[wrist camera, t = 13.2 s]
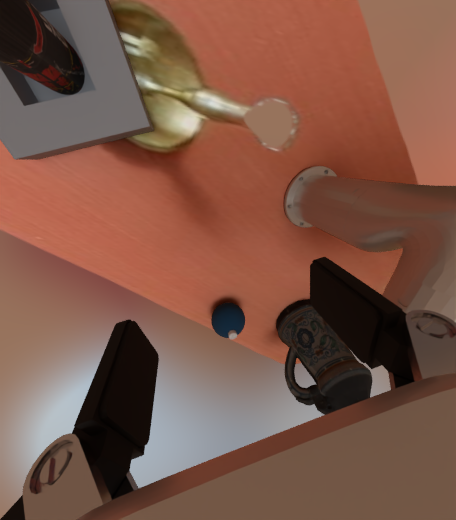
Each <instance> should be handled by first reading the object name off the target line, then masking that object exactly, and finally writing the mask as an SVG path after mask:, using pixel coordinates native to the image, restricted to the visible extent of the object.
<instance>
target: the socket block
mask: <svg viewBox="0 0 456 520" xmlns="http://www.w3.org/2000/svg"><path fill="white" fill-rule="evenodd" d="M28 1H29V2H30V3H31V4H32V5H33V6H34V7H35V8H36V9H37V10H38V11H39V12H40V13H41V14H42V15H43V16H44V17H45V18H46V19H47V21H48V22H49V23H50V24H51V25H52V26H53V27H54V28H55V29H56V30H57V31H58V32H59V33H60V34H61V35H62V36H63V37H64V38H65V39H66V40H67V42H68V43H69V44H70V45H71V46H72V47H73V48H74V50H75V51H76V52H77V54H78V56H79V57H80V59H81V62H82V64H83V67H84V73H85V80H84V84H83V87H82V89H81V90H80V91H79V92H78V93H76V94H73V95H64V94H59V93H57V92H55V91H53V90H51V89H49V88H48V87H46V86H44V85H42V84H40V83H39V82H37V81H35V80H33V79H31V78H29V77H28V76H26V75H24V74H22V73H20V72H19V71H17V70H15V69H13V68H11V67H9V66H8V65H6V64H4V63H2V62H0V140H1V141H2V142H3V144H4V145H5V147H6V148H7V149H8V151H9V152H10V154H11V155H12V156H13V158H14V159H42V158H46V157H50V156H54V155H58V154H62V153H66V152H70V151H74V150H78V149H82V148H86V147H90V146H94V145H98V144H102V143H106V142H110V141H114V140H118V139H122V138H126V137H130V136H134V135H138V134H142V133H146V132H150V131H154V129H153V126H152V123H151V120H150V117H149V114H148V112H147V109H146V106H145V103H144V100H143V97H142V95H141V92H140V89H139V86H138V83H137V80H136V78H135V75H134V72H133V69H132V66H131V63H130V61H129V58H128V55H127V52H126V49H125V46H124V44H123V41H122V38H121V35H120V32H119V29H118V27H117V24H116V21H115V18H114V15H113V13H112V10H111V7H110V4H109V1H108V0H28Z"/></svg>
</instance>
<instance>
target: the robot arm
mask: <svg viewBox="0 0 456 520" xmlns="http://www.w3.org/2000/svg"><path fill="white" fill-rule="evenodd" d="M299 178H300V179H299ZM284 210H285V214H286V216H287V218H288V219H289V220H290V221H291V222H292V223H293V224H295V225H297V226H299V227H305V228H307V227H312V226H315V227H317V228H319V229H321V230H323V231H325V232H327V233H329V234H331V235H333V236H335V237H337V238H339V239H341V240H343V241H345V242H347V243H349V244H351V245H353V246H355V247H357V248H359V249H361V250H364V251H368V252H386V251H392V250H396V249H400V248H403V252H402V255H401V257H400V260H399V262H398V265H397V267H396V269H395V271H394V273H393V275H392V277H391V278H390V280H389V282H388V284H387V286H386V288H385V291H384V293H383V295H381V294H379V293H378V292H376V291H375V290H373V289H372V288H370V287H369V286H368V285H366V284H365V283H363V282H362V281H360V280H359V279H357V278H356V277H354V276H353V275H351V274H350V273H348V272H347V271H345V270H344V269H343V268H341V267H340V266H338V265H337V264H335V263H334V262H332V261H331V260H329V259H328V258H326V257H322V258H319V259H316V260H314V261H313V263H312V264H311V265H310V303H311V305H312V307H313V308H314V309H315V310H316V311H317V313H318V314H319V315H320V316H321V317H322V318H323V319H324V320H325V322H326V323H327V324H328V325H329V326H330V327H331V328H332V329H333V331H334V332H335V333H336V334H337V335H338V336H339V337H340V339H341V340H342V341H343V342H344V343H345V344H346V345H347V346H348V348H349V349H350V350H351V351H352V352H353V353H354V354H355V355H356V357H357V358H358V359H359V360H360V361H361V362H363V363H366V364H367V365H368V366H369V367H370V368H371V369H373V368H375V367H378V366H381V365H383V366H384V367H385V368H386V369H387V371H388V373H389V379H390V385H391V390H390V391H387V392H385V393H382V394H379V395H376V396H374V397H371V398H368V399H366V400H363V401H360V402H358V403H355V404H353V405H350V406H347V407H345V408H342V409H340V410H337V411H334V412H332V413H329V414H327V415H324V416H321V417H319V418H316V419H313V420H311V421H308V422H306V423H303V424H301V425H298V426H296V427H293V428H290V429H288V430H285V431H283V432H280V433H278V434H275V435H272V436H270V437H267V438H265V439H262V440H260V441H257V442H255V443H252V444H249V445H247V446H244V447H242V448H239V449H237V450H234V451H231V452H229V453H226V454H224V455H221V456H219V457H216V458H214V459H211V460H209V461H206V462H204V463H201V464H199V465H196V466H194V467H191V468H189V469H186V470H183V471H181V472H178V473H176V474H174V475H171V476H168V477H166V478H163V479H161V480H159V481H156V482H154V483H151V484H149V485H147V486H144V487H142V488H138V486H137V484H136V483H135V481H134V479H133V477H132V475H131V473H130V471H129V469H130V463H131V460H132V459H134V458H137V457H139V456H142V455H144V448H145V445H146V444H147V443H148V440H149V435H150V427H151V419H152V410H153V402H154V393H155V385H156V377H157V369H158V359H159V358H158V353H157V352H156V350H155V349H154V347H153V346H152V345H151V343H150V342H149V340H148V339H147V338H146V336H145V334H144V333H143V332H142V330H141V329H140V327H139V326H138V324H137V323H136V322H135V321H131V320H126V321H122V322H119V323H117V324H116V325H115V327H114V330H113V332H112V334H111V337H110V339H109V342H108V344H107V347H106V349H105V351H104V354H103V356H102V359H101V361H100V364H99V366H98V369H97V371H96V374H95V376H94V379H93V381H92V383H91V386H90V388H89V391H88V394H87V396H86V398H85V401H84V403H83V405H82V408H81V410H80V413H79V415H78V418H77V420H76V423H75V425H74V426H75V428H74V430H73V432H72V434H66V435H63V436H61V437H60V438H58V439H56V440H55V441H54V442H53V443H51V444H50V445H49V446H48V447H47V448H46V449H45V450H44V452H43V453H42V454H41V455H40V456H39V457H38V459H37V460H36V462H35V463H34V464H33V466H32V468H31V469H30V471H29V473H28V475H27V477H26V480H25V483H24V486H23V495H22V496H21V497H20V498H19V500H18V501H17V502H16V503H15V504H14V505H13V506H12V507H11V508H10V509H9V511H8V512H7V513H6V514H5V515H4V516H3V517H2V518H1V519H0V520H456V186H429V185H414V184H402V183H393V182H381V181H372V180H363V179H353V178H344V177H337V175H336V174H335V172H334V171H333V170H331V169H330V168H327V167H325V166H313V167H309V168H307V169H305V170H303V171H302V172H300V173H299V174H298V175H297V176H296V177H295V178H294V179H293V180H292V182H291V183H290V185H289V187H288V189H287V191H286V194H285V198H284Z"/></svg>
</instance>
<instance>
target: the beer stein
mask: <svg viewBox="0 0 456 520" xmlns="http://www.w3.org/2000/svg"><path fill="white" fill-rule="evenodd" d="M276 328H277V331H278V334H279V337H280V339H281V340H282V342H283V343H285V344H286V345H287V346H288V347H289V351H288V354H287V358H286V362H285V378H286V382H287V385H288V388H289V389H290V391H291V393H292V394H293V395H294V396H295V397H296V400H298V402H301V403H304V404H306V405H312V404H315V406H316V408H317V410H318V411H320V412H321V413H323V414H325V415H327V414H329V413H332V412H334V411H337V410H340V409H342V408H345V407H347V406H350V405H353V404H355V403H358V402H360V401H363V400H366V399H368V398H370V392H371V386H372V376H371V372H370V370H369V369H368V368H366V367H365V366H364V365H363V364H361V363H359V362H358V361H357V360H356V358H355V357H354V355H353V354H352V352H351V351H350V349H349V348H348V346H347V345H346V344H345V343H344V342H343V341H342V340H341V339H340V337H339V336H338V335H337V334H336V333H335V332H334V331H333V329H332V328H331V327H330V326H329V325H328V324H327V323H326V322H325V320H324V319H323V318H322V317H321V316H320V315H319V314H318V313H317V311H316V310H315V309H314V308H313V307H312V305H311V303H310V300H309V299H308V300H301V301H297V302H295V303H293V304H291V305H289V306H287V307H286V308H285V309H284V310H283V311H282V312H281V313H280V315H279V317H278V319H277V324H276ZM296 358H298V359H299V360H300V361H301V363H302V364H303V366H304V367H305V368H306V369H307V371H308V372H309V374H310V375H311V376H312V377H313V379H314V381H315V382H316V384H317V385H312V386H310V387H308V388H302V387H300V386H299V385H298V384H297V383H296V381H295V375H294V367H295V364H296Z"/></svg>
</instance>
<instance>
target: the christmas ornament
mask: <svg viewBox="0 0 456 520" xmlns="http://www.w3.org/2000/svg"><path fill="white" fill-rule="evenodd" d="M244 325H245V316H244V313H243V311H242V309H241V308H240V307H239V306H237V305H236V304H233V303H223V304H221V305H219V306H218V307H217V308H216V309H215V310H214V312H213V314H212V326H213V329H214V330H215V332H216V333H217V334H219V335H220V336H222V337H225V338H230V339H235V338H236V337H237V335H238V334H239V333H240V332H241V331H242V330H243V328H244Z"/></svg>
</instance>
